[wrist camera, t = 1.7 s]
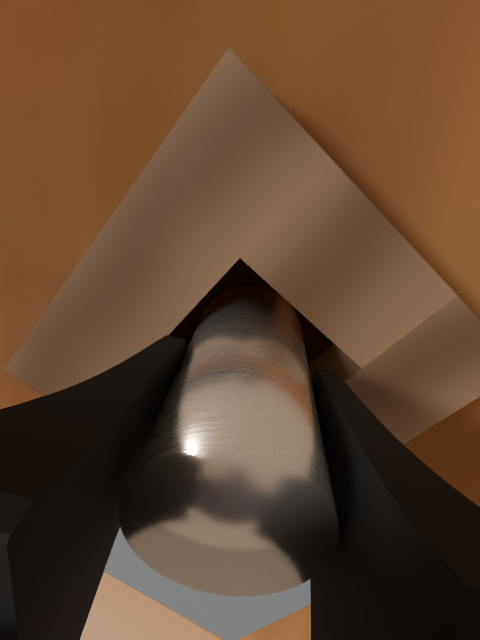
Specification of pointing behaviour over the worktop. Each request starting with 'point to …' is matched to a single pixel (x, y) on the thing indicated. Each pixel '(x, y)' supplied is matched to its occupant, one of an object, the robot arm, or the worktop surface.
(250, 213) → the bore block
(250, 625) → the mat
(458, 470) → the worktop surface
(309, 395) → the plug
